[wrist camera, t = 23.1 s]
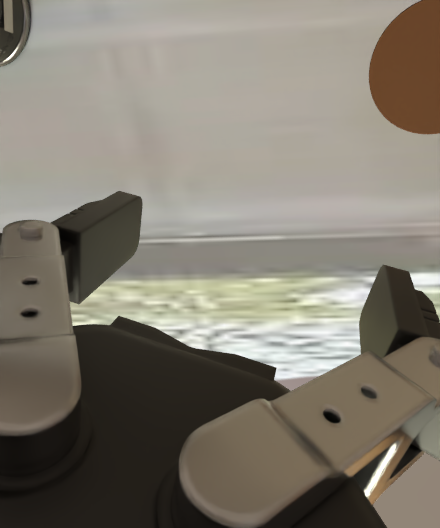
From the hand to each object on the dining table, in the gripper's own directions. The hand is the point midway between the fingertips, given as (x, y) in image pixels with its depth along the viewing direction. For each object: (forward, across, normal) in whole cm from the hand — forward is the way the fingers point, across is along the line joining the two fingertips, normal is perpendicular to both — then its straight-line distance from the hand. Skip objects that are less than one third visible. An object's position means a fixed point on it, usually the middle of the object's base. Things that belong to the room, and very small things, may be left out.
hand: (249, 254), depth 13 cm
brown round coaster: (+26, -8, -7) cm, 29 cm away
